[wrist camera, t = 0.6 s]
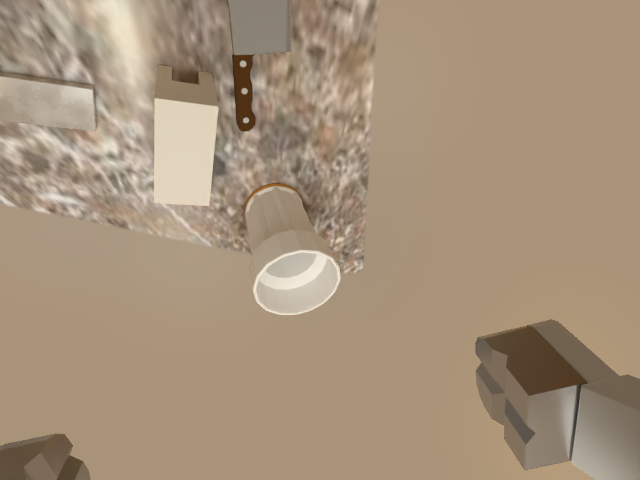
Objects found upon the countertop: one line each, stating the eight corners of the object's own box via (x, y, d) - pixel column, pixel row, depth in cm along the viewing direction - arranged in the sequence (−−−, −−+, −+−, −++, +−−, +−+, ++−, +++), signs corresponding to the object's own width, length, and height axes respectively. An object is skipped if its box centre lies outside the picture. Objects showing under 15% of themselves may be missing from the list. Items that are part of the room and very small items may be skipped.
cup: (320, 189, 64) (357, 261, 51) (290, 243, 69) (315, 320, 56) (254, 166, 59) (276, 241, 46) (226, 227, 64) (238, 309, 51)
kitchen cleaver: (296, 127, 56) (223, 133, 53) (294, 125, 57) (221, 130, 54) (302, -102, 41) (201, -111, 39) (299, -102, 42) (199, -111, 39)
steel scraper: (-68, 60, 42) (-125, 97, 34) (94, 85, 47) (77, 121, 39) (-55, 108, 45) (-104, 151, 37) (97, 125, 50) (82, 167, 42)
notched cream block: (158, 64, 47) (154, 98, 39) (211, 73, 49) (218, 106, 41) (157, 163, 55) (154, 209, 47) (204, 167, 57) (208, 212, 49)
